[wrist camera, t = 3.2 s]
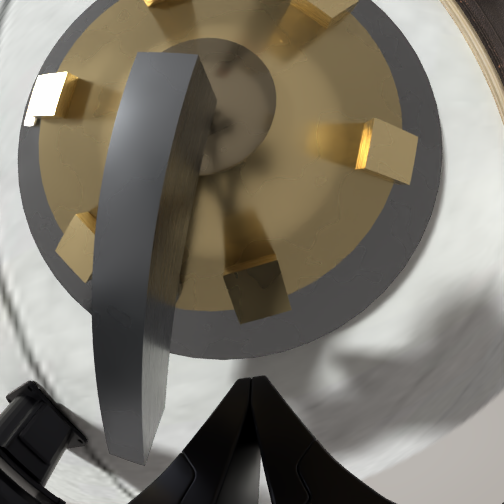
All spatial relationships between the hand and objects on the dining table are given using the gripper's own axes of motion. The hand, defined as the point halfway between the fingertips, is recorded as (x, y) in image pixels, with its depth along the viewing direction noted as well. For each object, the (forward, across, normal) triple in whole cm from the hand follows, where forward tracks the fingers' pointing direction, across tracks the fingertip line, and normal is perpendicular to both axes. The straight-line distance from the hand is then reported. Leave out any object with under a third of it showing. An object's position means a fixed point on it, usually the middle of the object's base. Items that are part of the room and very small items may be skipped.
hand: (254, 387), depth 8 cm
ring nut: (+3, 0, -8) cm, 8 cm away
